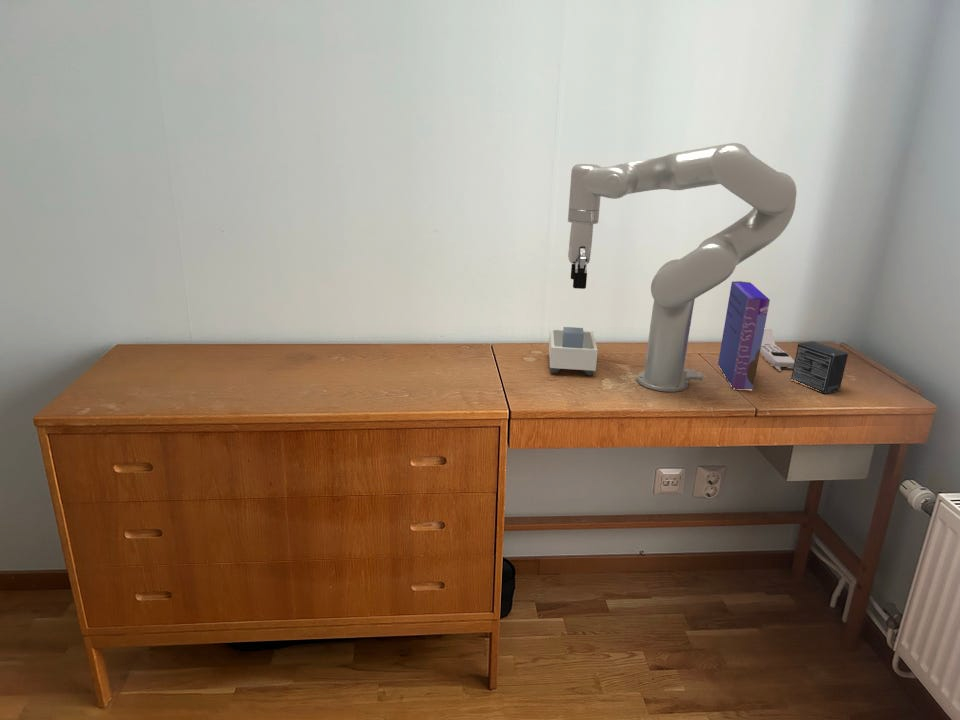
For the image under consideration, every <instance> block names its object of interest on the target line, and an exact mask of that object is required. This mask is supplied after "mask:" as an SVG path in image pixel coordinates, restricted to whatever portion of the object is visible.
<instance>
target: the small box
mask: <svg viewBox="0 0 960 720" xmlns="http://www.w3.org/2000/svg"><path fill="white" fill-rule="evenodd" d="M848 357H849V353H848V352H846V351H844V350H840V349H837V348H835V347H831V346H829V345H826V344H822V343H818V342H816V341H814V340H813V341H808V342H807V341H806V342H799V343H797V348H796V353H795V358H794V361H795V362H794V367H793V368H792V373H791V376H790V380H791V379H793V380H796V381H798V382H800V383H803V384H805V385H807V386H810V387H812V388H814V389H817V390H819V391H821V392H823V393H826V394H825V395H827V393H828V394H831V393H830V392H832V393H835V392H834V391H837V392H839V391H838V390H840V389H841V386H842V381H843V378H844V373H845V369H846V364H847V362H848ZM840 391H841V390H840ZM823 393H822V394H823Z"/></svg>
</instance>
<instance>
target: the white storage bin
mask: <svg viewBox="0 0 960 720" xmlns="http://www.w3.org/2000/svg"><path fill="white" fill-rule="evenodd" d="M583 332H584V339H583V348H566V347H562V341H563V329H555V328H550V329H549V341H548V356H549V368H550V372H551V373H553V374H558V373H559V372H560V371H561V369H562V370H563V369H564V370H576V371H578V370H580V371H583V372H584V374H585V375H586V376H592V375H593V374H594V372H596V370H597V361H598V360H597V359H598V351H599V349H598V346H597V342H596V338H595V335H594V331H588V330H583Z"/></svg>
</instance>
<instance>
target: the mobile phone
mask: <svg viewBox="0 0 960 720" xmlns="http://www.w3.org/2000/svg"><path fill="white" fill-rule="evenodd" d="M760 352H761V353H762V354H763V355H764V356H765V357H766V358H767V359H768V360H769V362H770V363H771V364H772V365H774V366H775V367H777V368H778V369H779V370H781V371H782V368H780V367H791V368H790V369H793V367H794V362H795V359H794V358H792V356H791V355H790V354H789V353H788V352H785V351H784V350H783V349H782V348H780V347H779V346H778V345H777V344H776V343H775V339H774V336H773V329H772V327H770V329H764V334H763V339H762V344H761V349H760Z"/></svg>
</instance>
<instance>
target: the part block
mask: <svg viewBox="0 0 960 720" xmlns="http://www.w3.org/2000/svg"><path fill="white" fill-rule="evenodd" d="M562 330H563V341H562V347H566V348H583V339H584V332H583V331H584V328H583V327H573V326H563V329H562Z"/></svg>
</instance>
